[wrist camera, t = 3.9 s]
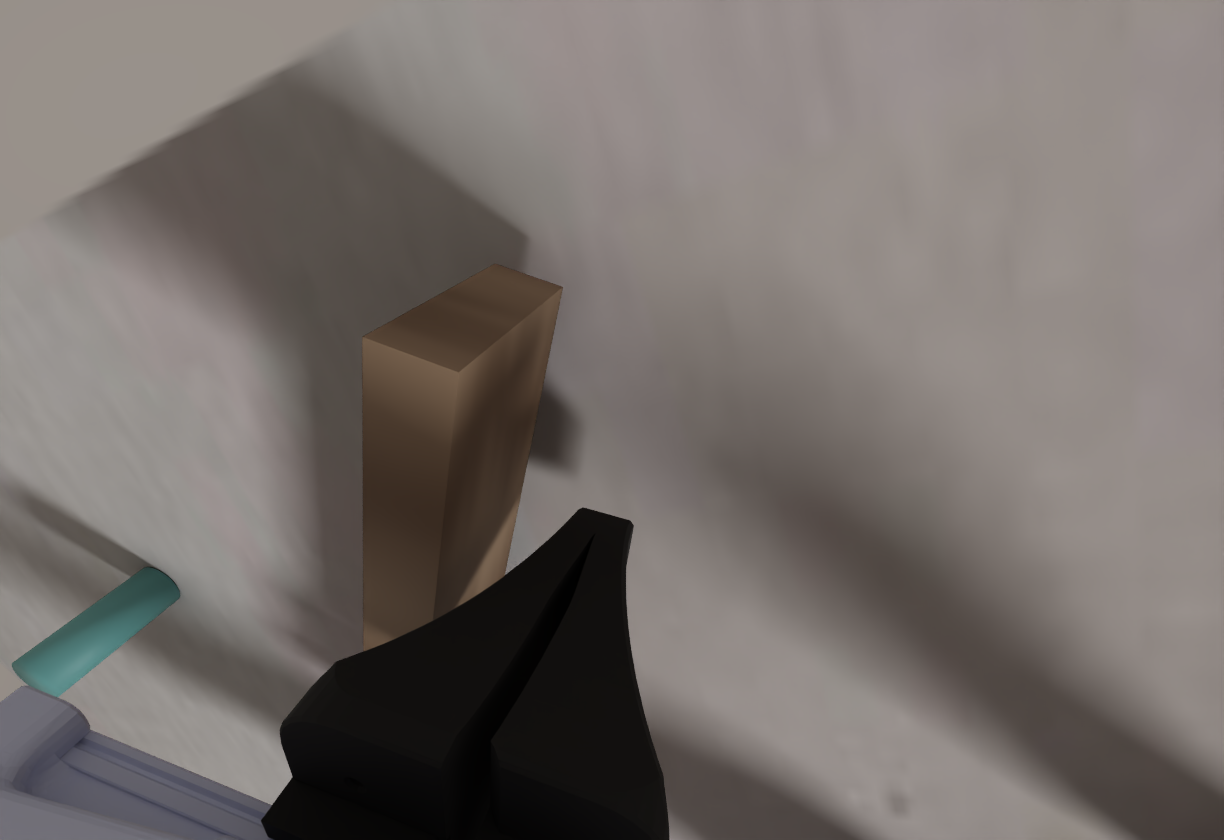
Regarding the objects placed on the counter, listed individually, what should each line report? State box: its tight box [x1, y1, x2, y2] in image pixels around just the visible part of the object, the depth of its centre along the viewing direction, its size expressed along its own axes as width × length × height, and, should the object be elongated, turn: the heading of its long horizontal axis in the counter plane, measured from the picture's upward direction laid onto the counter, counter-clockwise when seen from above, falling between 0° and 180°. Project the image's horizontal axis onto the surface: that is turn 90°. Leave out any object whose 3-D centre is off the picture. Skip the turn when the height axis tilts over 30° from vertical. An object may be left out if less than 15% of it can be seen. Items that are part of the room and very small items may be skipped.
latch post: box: [12, 567, 180, 697], centre depth 23 cm, size 2×2×5 cm
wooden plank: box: [362, 264, 563, 651], centre depth 16 cm, size 21×2×6 cm, turn 166°
